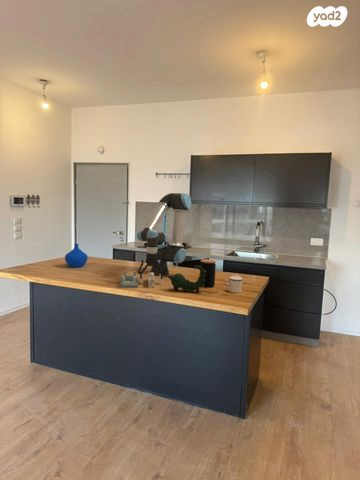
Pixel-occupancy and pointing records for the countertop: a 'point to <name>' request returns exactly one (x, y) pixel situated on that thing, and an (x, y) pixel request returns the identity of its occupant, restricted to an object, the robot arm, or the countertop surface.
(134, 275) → the back end cap
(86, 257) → the vase
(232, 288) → the teacup with lid
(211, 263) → the coffee jar
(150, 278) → the slat
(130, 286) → the base board
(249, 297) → the countertop surface
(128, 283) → the front end cap
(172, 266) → the countertop surface
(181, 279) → the toy figurine
